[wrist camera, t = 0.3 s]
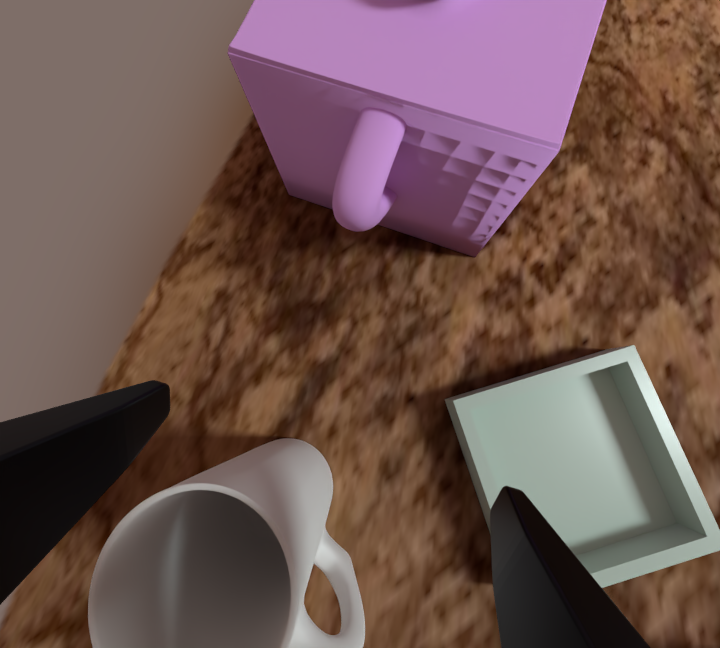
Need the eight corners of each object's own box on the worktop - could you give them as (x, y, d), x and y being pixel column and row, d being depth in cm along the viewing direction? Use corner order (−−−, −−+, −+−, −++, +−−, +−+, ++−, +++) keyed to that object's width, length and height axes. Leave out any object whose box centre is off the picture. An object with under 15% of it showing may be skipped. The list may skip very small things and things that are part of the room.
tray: (686, 528, 21) (727, 547, 18) (507, 585, 21) (526, 612, 18) (606, 349, 23) (634, 345, 21) (444, 399, 23) (452, 400, 21)
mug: (216, 493, 22) (43, 612, 11) (281, 412, 23) (188, 440, 11) (332, 602, 21) (279, 879, 9) (397, 512, 22) (426, 661, 10)
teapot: (547, 46, 28) (714, -281, 14) (453, 318, 24) (562, 227, 10) (378, 1, 30) (382, -334, 16) (264, 250, 26) (139, 92, 12)
